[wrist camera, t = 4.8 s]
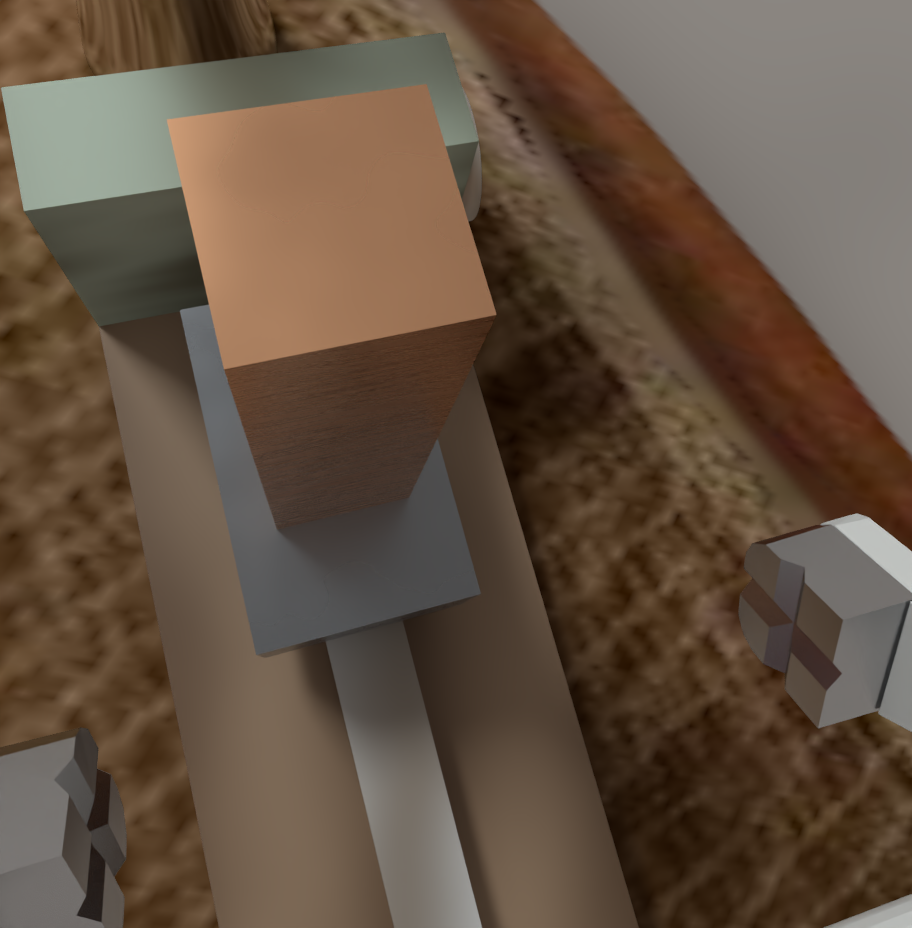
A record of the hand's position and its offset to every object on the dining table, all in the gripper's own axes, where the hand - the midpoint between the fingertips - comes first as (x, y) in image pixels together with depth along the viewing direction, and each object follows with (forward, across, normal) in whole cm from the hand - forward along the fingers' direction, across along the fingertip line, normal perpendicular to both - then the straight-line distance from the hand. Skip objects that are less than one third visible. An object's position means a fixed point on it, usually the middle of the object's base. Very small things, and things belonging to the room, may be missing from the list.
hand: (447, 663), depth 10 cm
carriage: (+11, 0, +4) cm, 12 cm away
